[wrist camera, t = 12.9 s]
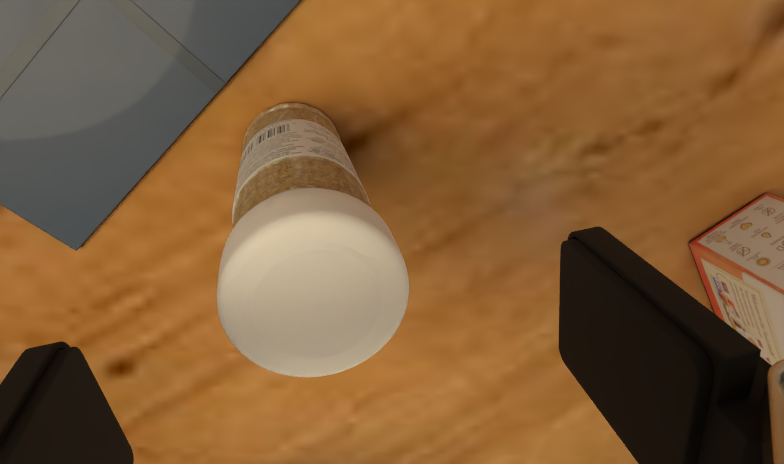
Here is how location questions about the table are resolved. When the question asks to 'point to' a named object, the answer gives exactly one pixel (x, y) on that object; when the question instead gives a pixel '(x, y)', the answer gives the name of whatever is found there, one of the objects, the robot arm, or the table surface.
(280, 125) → the spice jar
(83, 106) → the napkin
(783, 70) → the table surface
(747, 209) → the cracker box
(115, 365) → the table surface
